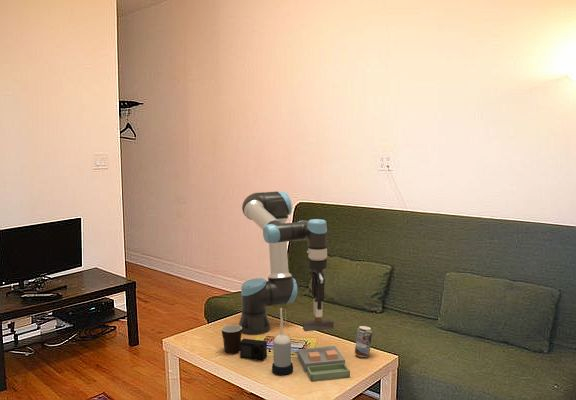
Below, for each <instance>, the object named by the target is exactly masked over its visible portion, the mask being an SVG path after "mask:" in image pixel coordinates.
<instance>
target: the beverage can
mask: <svg viewBox="0 0 576 400" xmlns="http://www.w3.org/2000/svg"><path fill="white" fill-rule="evenodd" d="M372 337H373V331H372V328H371V327H369V326H365V325H359V326H358V327H357V330H356V338H355V347H354V348H355V349H354V353H355V354H356V356H358V357H360V358H367V357H369V355H370V353H371V344H372Z"/></svg>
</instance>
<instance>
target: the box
mask: <svg viewBox="0 0 576 400" xmlns="http://www.w3.org/2000/svg"><path fill="white" fill-rule="evenodd" d="M306 374H307V376H308V378H309V380H310V382H316V381H317V382H319V381H327V380H337V379H345V378H346V379H347V378H351V370H350V369H349V368H348V366H347V364H346V362H345V363H339V364H329V365H319V366H309V367H307V372H306Z"/></svg>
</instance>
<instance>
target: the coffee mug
mask: <svg viewBox="0 0 576 400" xmlns="http://www.w3.org/2000/svg"><path fill="white" fill-rule="evenodd" d="M221 334H222V336H221V337H222V343H223V349H224V353H225V354H227V355H235V354H240V341H241V340H242V334H243V333H242V327H241V326H239V324H228V325H224V326H222V327H221Z"/></svg>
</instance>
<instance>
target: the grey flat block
mask: <svg viewBox="0 0 576 400" xmlns="http://www.w3.org/2000/svg"><path fill="white" fill-rule="evenodd" d="M329 350H335V351H336V352H337V353H338V359H331V360H328V359H327V358H326V356H325V351H329ZM296 351H297V352H296V353H297V356H296V357H297V359H298V361H299V363H300V365H301V367H302V369H303V371H304V373H306V374H307V367H309V366H319V365H329V364H339V363H345V364H346V359H345V358H344V356H343V355H342V353H341V352H340V351H339V349H338V348H337V347H336V345H331V346H320V347H309V348H297V350H296ZM308 352H319V354H320V356H321V361H310V360H309V358H308Z"/></svg>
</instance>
